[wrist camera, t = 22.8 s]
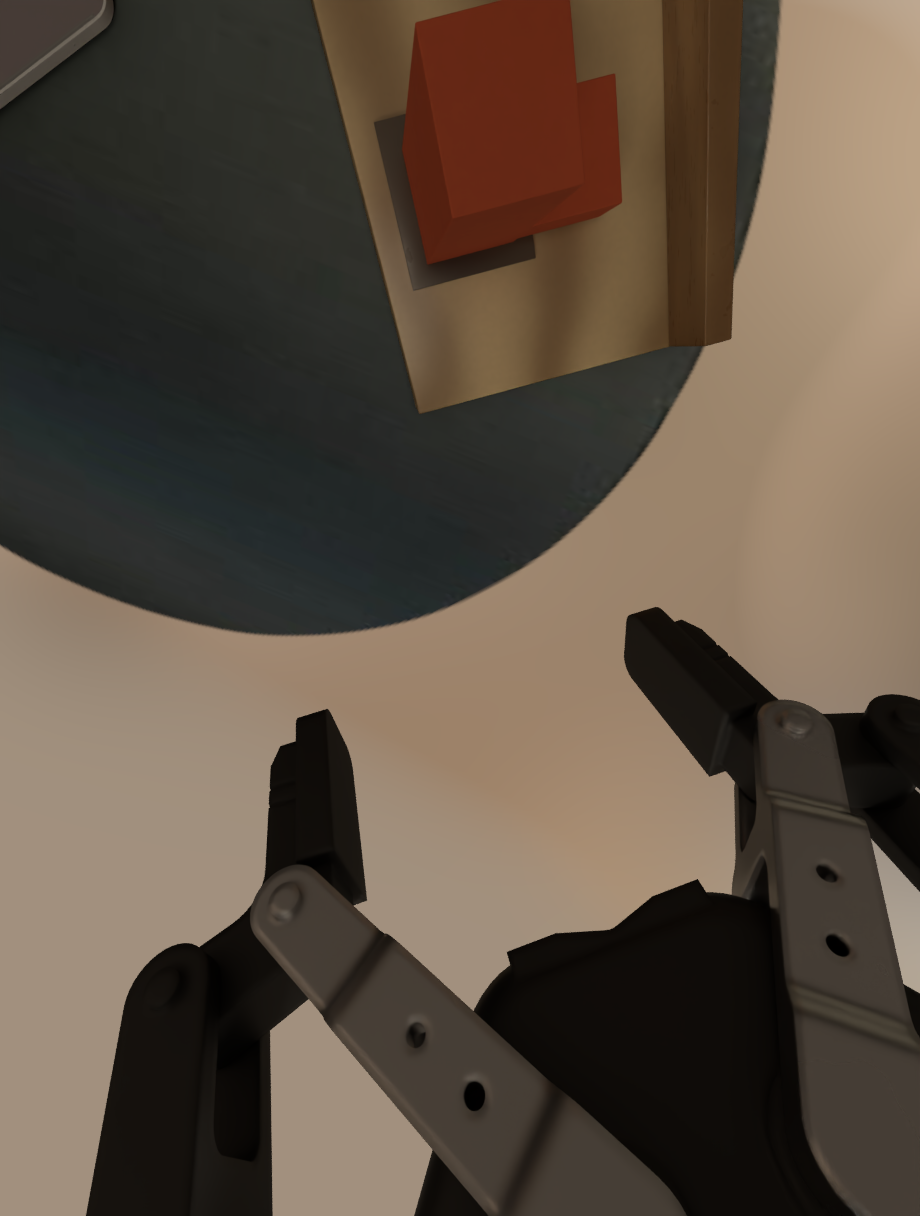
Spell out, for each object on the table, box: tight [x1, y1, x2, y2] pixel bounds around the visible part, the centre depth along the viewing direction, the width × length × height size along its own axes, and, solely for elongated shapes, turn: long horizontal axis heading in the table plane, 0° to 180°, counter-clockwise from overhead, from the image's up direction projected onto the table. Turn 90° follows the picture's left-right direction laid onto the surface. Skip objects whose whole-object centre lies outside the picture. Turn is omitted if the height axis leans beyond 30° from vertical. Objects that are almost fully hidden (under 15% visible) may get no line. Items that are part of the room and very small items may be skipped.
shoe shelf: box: [311, 0, 743, 414], centre depth 26 cm, size 18×20×7 cm
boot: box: [402, 0, 622, 265], centre depth 21 cm, size 10×5×11 cm, turn 103°
